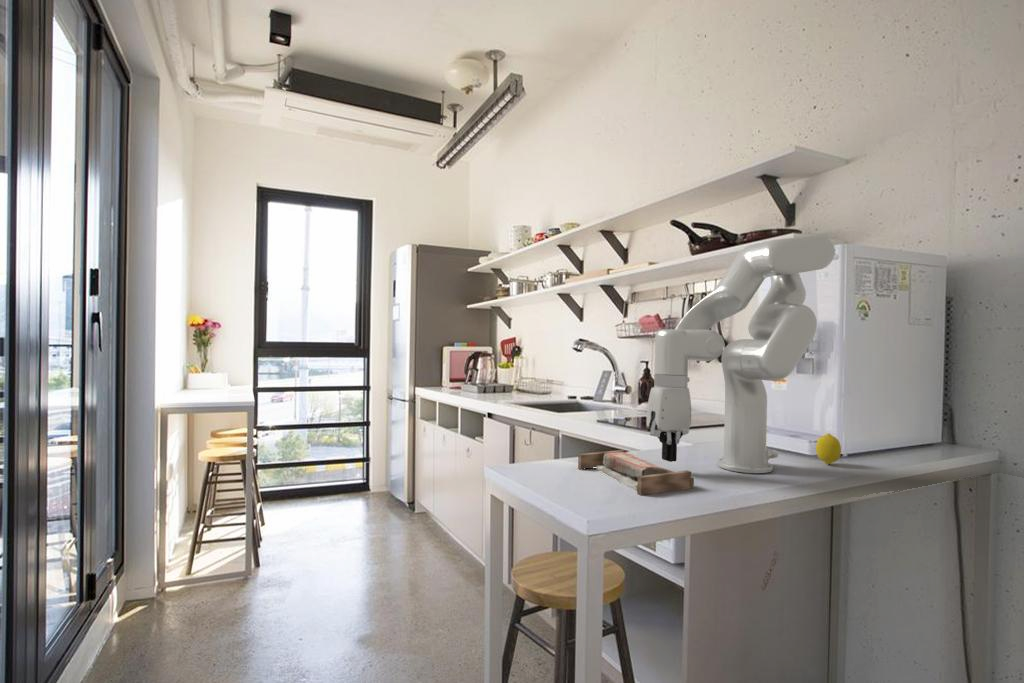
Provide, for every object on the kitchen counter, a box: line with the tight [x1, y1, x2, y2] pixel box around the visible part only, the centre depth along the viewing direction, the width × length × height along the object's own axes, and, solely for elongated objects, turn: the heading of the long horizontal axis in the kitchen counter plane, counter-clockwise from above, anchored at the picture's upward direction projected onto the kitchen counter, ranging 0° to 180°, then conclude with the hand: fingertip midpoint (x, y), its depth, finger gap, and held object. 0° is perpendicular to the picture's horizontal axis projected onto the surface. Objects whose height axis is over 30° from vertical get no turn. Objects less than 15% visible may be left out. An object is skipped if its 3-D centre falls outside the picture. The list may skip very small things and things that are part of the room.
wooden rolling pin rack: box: [577, 449, 695, 496], centre depth 120 cm, size 14×23×4 cm, turn 26°
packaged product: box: [596, 452, 666, 491], centre depth 120 cm, size 18×5×10 cm
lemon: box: [815, 433, 842, 465], centre depth 136 cm, size 6×6×8 cm
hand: (669, 460), depth 125 cm, fingers closed
